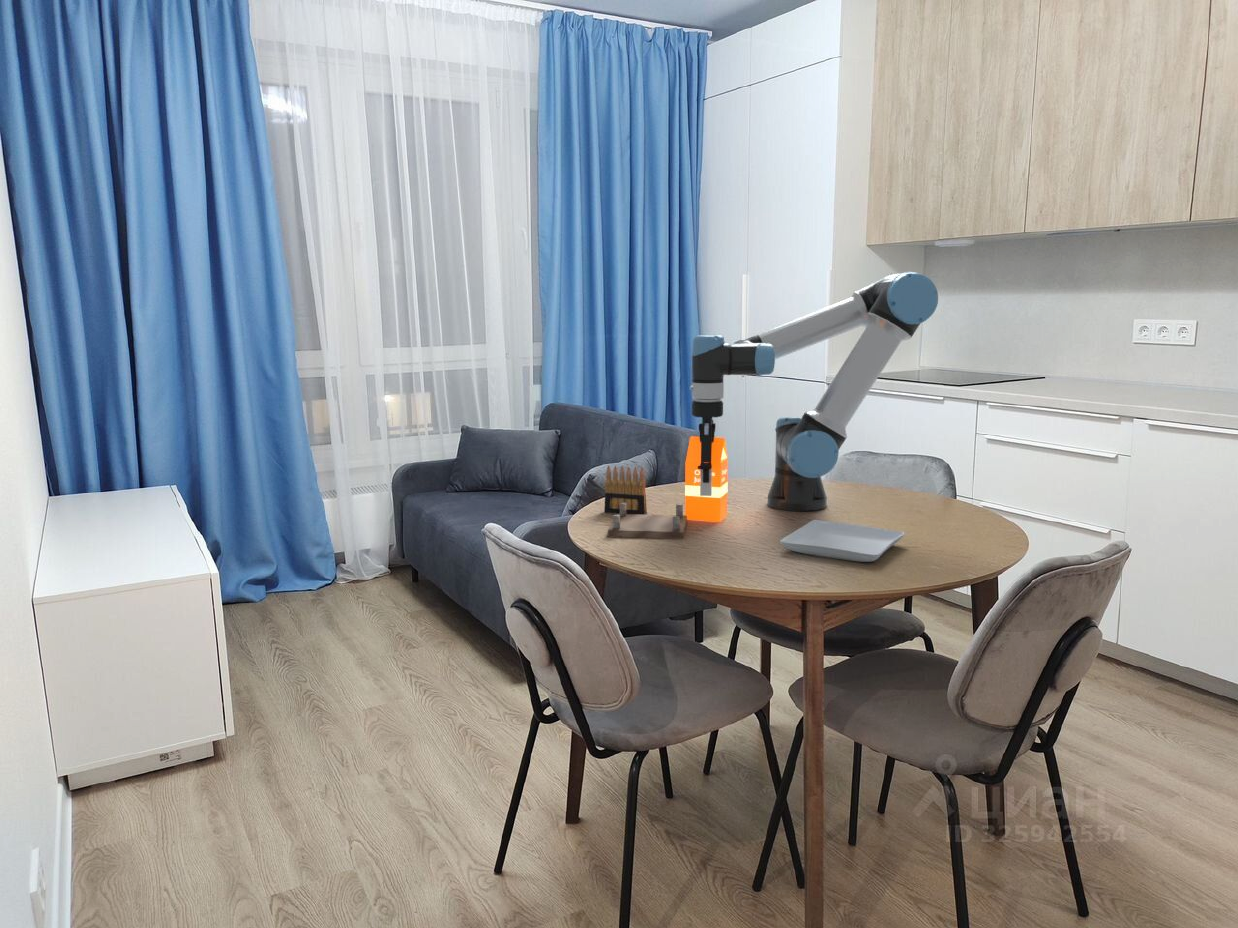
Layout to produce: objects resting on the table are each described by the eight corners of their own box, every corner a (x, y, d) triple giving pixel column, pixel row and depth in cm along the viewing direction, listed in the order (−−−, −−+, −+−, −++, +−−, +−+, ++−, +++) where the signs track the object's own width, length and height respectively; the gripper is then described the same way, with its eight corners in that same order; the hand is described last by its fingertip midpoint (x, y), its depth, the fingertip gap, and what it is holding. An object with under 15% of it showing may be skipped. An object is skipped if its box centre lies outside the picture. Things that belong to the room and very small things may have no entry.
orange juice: (719, 522, 218) (721, 440, 215) (684, 519, 221) (685, 438, 218) (727, 515, 226) (728, 435, 222) (693, 512, 229) (693, 434, 225)
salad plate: (877, 570, 180) (878, 553, 180) (777, 555, 191) (777, 539, 191) (906, 545, 198) (907, 530, 197) (812, 533, 209) (813, 519, 208)
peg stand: (686, 521, 219) (687, 503, 218) (683, 538, 204) (683, 518, 203) (617, 519, 221) (616, 501, 221) (608, 536, 206) (607, 517, 205)
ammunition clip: (646, 513, 228) (646, 466, 226) (644, 515, 226) (644, 468, 224) (606, 511, 231) (606, 464, 229) (604, 512, 230) (603, 465, 227)
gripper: (693, 395, 230) (693, 482, 234) (689, 404, 208) (688, 500, 212) (723, 395, 229) (722, 482, 233) (722, 405, 207) (721, 501, 211)
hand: (706, 491), depth 222 cm, fingers open, 9 cm apart
